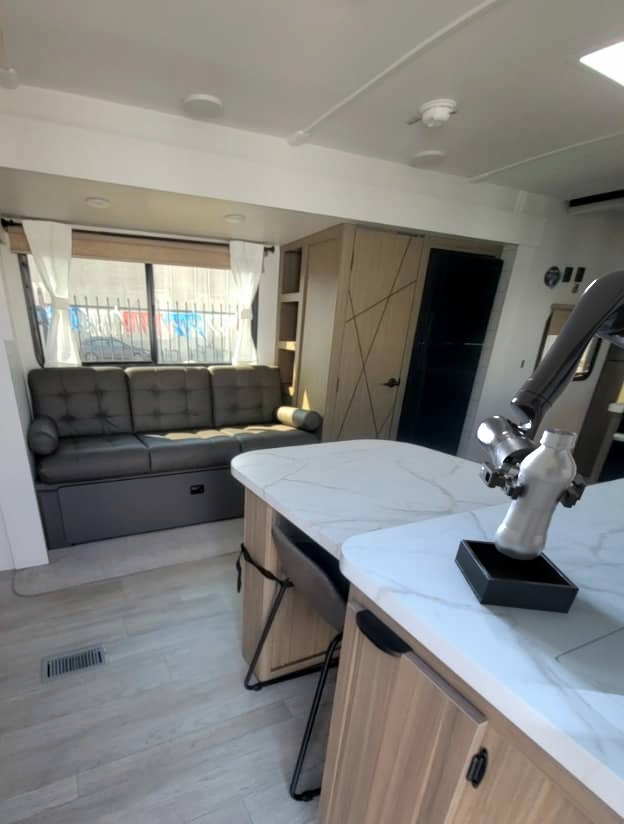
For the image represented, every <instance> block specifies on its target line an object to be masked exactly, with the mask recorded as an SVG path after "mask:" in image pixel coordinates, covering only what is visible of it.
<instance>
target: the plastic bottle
mask: <svg viewBox="0 0 624 824" xmlns="http://www.w3.org/2000/svg"><path fill="white" fill-rule="evenodd" d="M577 438H578V433H577V432H574V431H570V430H566V429H559V428H545V430H544V431H543V434H542V438H540V440H539V443H540V446H539V448H538V449H536V450H535V451H533V452H532V453H531V454H529V455H528V456H527V457H526V458H525V459H524V460H523V462H522V463H521V466H520V471H519V476H518V482H519V484H520V486H521V490H520V493H519V495H518V498H517V500H512V499H511V504H510V506H509V508H508V510H507V512H506V515H505V516H504V519H503V521H502V522H501V523H500V525H499V526H498V527H497V530H496V532H495V533H494V539H493V542H494V543H495V546H496V548H497V550H498V551H500V552H501V553H503V554H505V555H507V556H509V557H512V558H515V559H520V560H532V559H534V558H536V557H538V556H539V555H540V554H541V552H544V550H545V548H546V544H547V540H548V532H549V528H550V526H551V522H552V519H553V516H554V513H555V511H556V509H557V507H558V506H559V504H560V499H561V497H562V496H563V494H564V493H565V491H566V490H567V488H568V487H569V485H570V483H571V482H572V480H573V479H574V477H575V475H576V473H577V463H576V462H575V461H576V460H575V459H574V457H573V455H572V453H571V449H574V448H575V445H576V444H575V443H576V440H577Z"/></svg>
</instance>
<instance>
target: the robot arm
mask: <svg viewBox="0 0 624 824" xmlns="http://www.w3.org/2000/svg"><path fill="white" fill-rule="evenodd" d="M595 336H596V337H598V338H601V339H603V340H605V341H607V342H609V343H611V344H614V345H616V346H618V347H620V348H623V349H624V268H618V269H615V270H611V271H609V272H606V273H604V274H603V275H601V276H599V277H597V278H596V279H595V280H594V281H592V282H591V283H590V284H589V285H588V286H587V287H586V288H585V290H584V291H583V292H582V294H581V295H580V296H579V298H578V300H577V302H576V304H575V305H574V307H573V308H572V311H571V312H570V314H569V315H568V317H567V319H566V321H565V322H564V324H563V326H562V327H561V330H560V331H559V333H558V334H557V336H556V338H555V340H554V341H553V343H552V345H551V346H550V347H549V349H548V351H547V353H546V354H545V355H544V357H543V359H542V360H541V361H540V362H539V364H538V366H537V367H536V368H535V370H534V371H533V372H532V373H531V375H530V376H529V378H528V379H526V381H525V382H524V383H523V385H522V386H521V387H520V389H519V390H518V391H517V392H516V394H515V395H514V396H513V398H512V399H511V401H510V404H509V406H510V408H511V410H512V411H513V413H514V414H516V416H517V418H518V419H519V424H517V423H515V421H512V420H511V419H509V418H508V417H506V416H504V415H500V414H494V415H491V416H489V417H487V418H484V420H482V421H481V423H479V425H478V427H477V428H476V431H475V442H476V444H477V445H478V446H479V447H480V448H481V449H482V450H483V451H485V452H486V453H487V454H488V455H489V456H490V457H491V460H492V462H490V461H487V460H486V461H483V462H482V465H481V468H480V472H479V475H478V476H479V477H480V479H481V480H482V481H483V483H484V484H485V485H486V487H487V488H489V489H496V487H498V488H499V489H500V491H502V492H504V494H505V496H507V497H509V499H510V500H511V501H512V500H517V498H518V495H519V493H520V490H521V486H520V484H519V482H518V476H519V471H520V466H521V463H522V462H523V460H524V459H525V458H526V457H527V456H528V455H529V454H531V453H532V452H533V451H535V450H536V449H538V448H539V447H540V445H538V444H537V443H536V442H535V440H536V438H537V435H538V433H539V431H540V429H541V426H542V424H543V422H544V420H545V419H546V416H547V414H548V413H549V412H550V411H551V409H552V408H553V407H554V405H555V404H556V403H557V402H558V401H559V399H561V397H562V396H563V395H564V393H565V392H566V391H567V390H568V388H569V386H570V384H571V383H572V381H573V379H574V377H575V376H576V373H577V371H578V368H579V366H580V365H581V362H582V359H583V357H584V355H585V354H586V351H587V349H588V347H589V345H590V343H591V341H592V340H593V338H594V337H595ZM586 487H587V483H586V481H585V480H584V477H583V476H582V474H580V473H579V472H576V475H575V477H574V479H573V480H572V482H571V483H570V485H569V487H568V488H567V490H566V491H565V493H564V494H563V496H562V497H561V499H560V501H559V503H560V504H561V505H562V507H563V508H567V509H572V507H575V506H576V504H577V502H578V501H581V499H582V497H583V495H584V492H585V489H586Z"/></svg>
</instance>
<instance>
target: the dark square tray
mask: <svg viewBox="0 0 624 824" xmlns="http://www.w3.org/2000/svg"><path fill="white" fill-rule="evenodd" d="M454 562H455V564H456V565H457V567H458V569H459V570H460V571H461V575H462V576H463V577H464V579H465V581H466V582H467V584H468V586H469V587H470V589H471V591H472V592H473V594H474V595H475V597H476V599H477V601H478V603H479V604H480V605H486V606H487V605H488V606H496V607H505V608H515V609H523V610H524V609H526V610H533V609H534V610H533V611H544V612H552V611H553V612H554V613H562V614H569V612H570V610H571V607H572V606H573V603H574V601H575V599H576V597H577V595H578V594H579V591H580V588H579V587H578V586H577V585H576V584H575V583H574V582H573V581H572V579H571V578H569V577H568V575H566V574H565V573H564V571H562V570H561V569H560V568H559V566H557V565H556V563H554V562H553V560H552V559H550V558H549V557H548V555H546V554H545V553H544V551H542V552H541V554H540V555H539V556H538V557H536V558H534V559H532V560H520V559H515V558H512V557H509V556H507V555H505V554H503V553H501V552H500V551H498V550H497V548H496V546H495V543H494V541H485V540H472V539H460V542H459V545H458V549H457V552H456V554H455V558H454ZM553 612H552V613H553Z"/></svg>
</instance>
